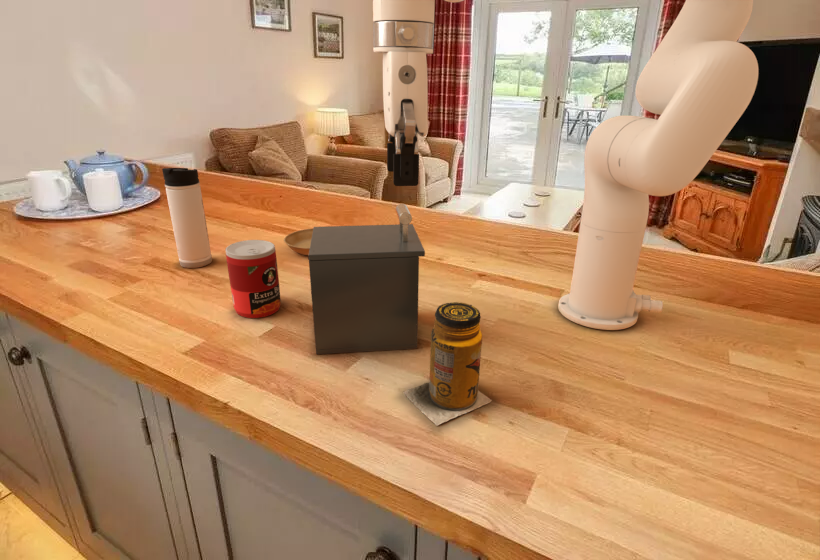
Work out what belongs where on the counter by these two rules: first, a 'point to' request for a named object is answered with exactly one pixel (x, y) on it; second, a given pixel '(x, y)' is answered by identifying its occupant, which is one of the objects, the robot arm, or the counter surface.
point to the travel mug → (187, 216)
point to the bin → (365, 304)
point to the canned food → (253, 278)
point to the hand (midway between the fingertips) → (401, 177)
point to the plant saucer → (300, 241)
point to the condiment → (452, 365)
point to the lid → (367, 240)
